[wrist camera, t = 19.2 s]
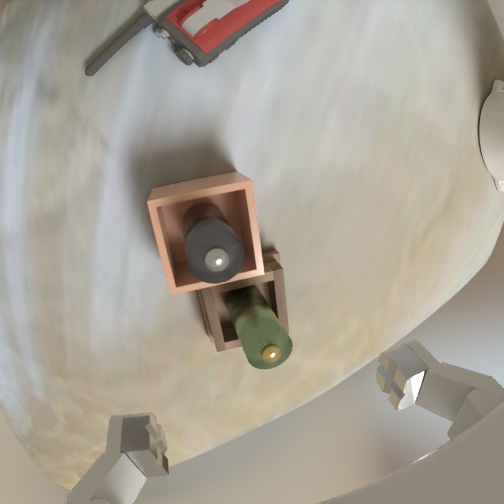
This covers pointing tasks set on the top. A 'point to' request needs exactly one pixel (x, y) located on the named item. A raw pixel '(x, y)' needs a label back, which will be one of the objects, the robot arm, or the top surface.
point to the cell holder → (267, 283)
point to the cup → (231, 205)
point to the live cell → (258, 328)
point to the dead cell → (211, 244)
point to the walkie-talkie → (195, 27)
